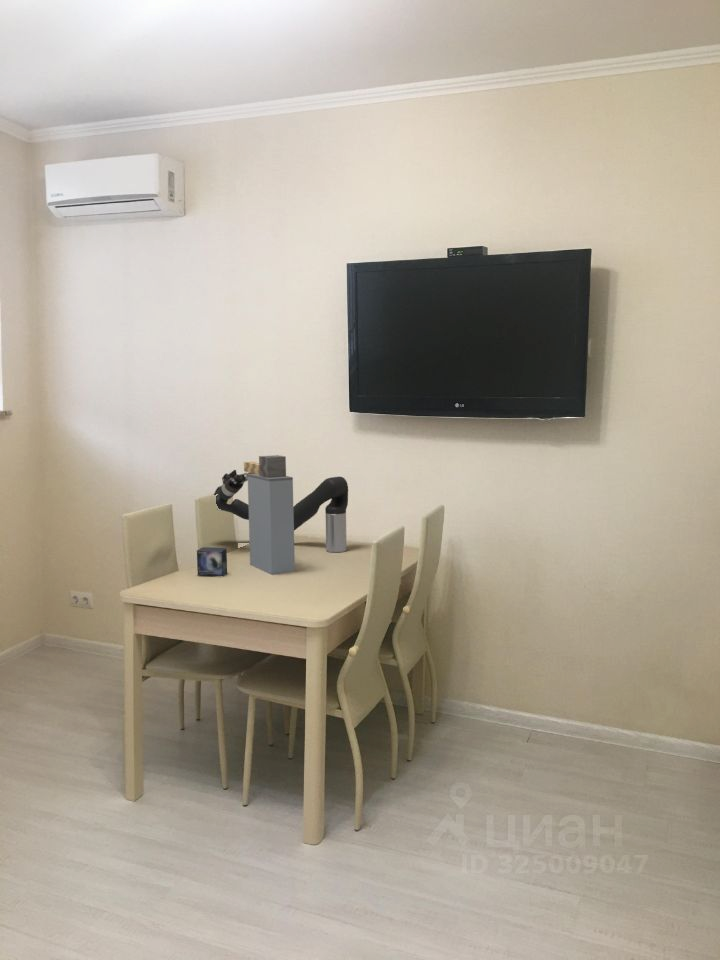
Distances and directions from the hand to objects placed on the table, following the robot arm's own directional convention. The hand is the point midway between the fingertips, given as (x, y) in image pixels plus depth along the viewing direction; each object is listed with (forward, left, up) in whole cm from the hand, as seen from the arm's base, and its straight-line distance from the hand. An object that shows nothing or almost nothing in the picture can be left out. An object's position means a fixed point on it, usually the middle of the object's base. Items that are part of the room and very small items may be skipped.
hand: (244, 471), depth 351 cm
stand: (+19, +19, -37) cm, 46 cm away
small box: (+35, 0, -38) cm, 51 cm away
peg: (+13, +13, +1) cm, 19 cm away
